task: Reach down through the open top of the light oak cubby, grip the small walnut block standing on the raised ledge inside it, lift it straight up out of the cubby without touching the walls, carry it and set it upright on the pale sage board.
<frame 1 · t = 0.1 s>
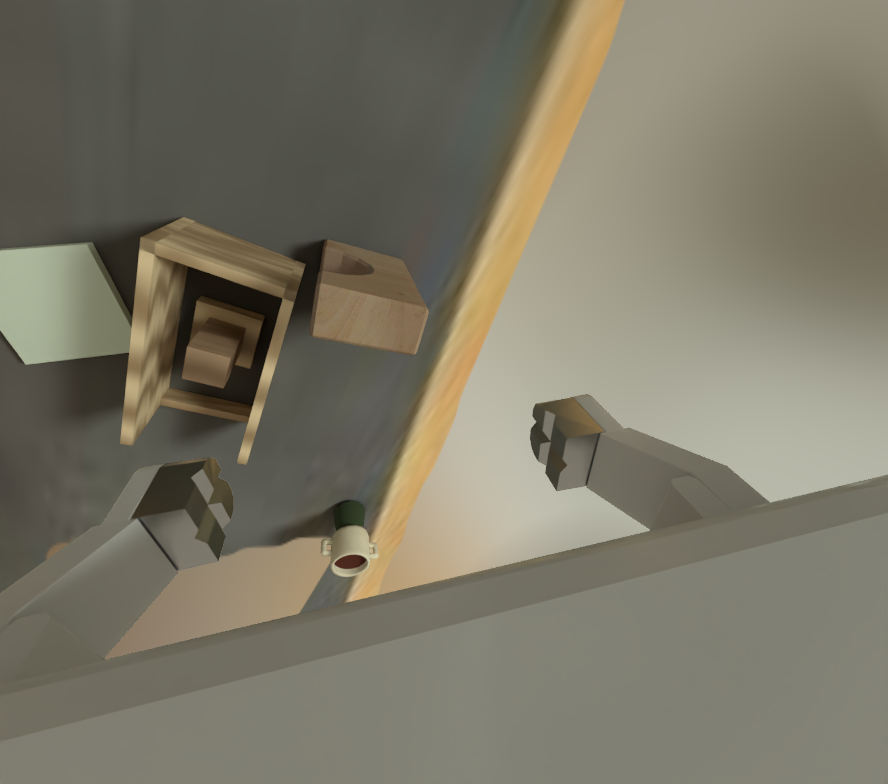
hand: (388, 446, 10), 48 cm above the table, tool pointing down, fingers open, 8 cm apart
walnut block: (225, 336, 52), point 2 cm above the table, touching oak cubby
decorative block: (362, 268, 54), on the table
sage board: (60, 304, 48), on the table
character mug: (349, 508, 79), on the table
oak cubby: (228, 330, 54), on the table
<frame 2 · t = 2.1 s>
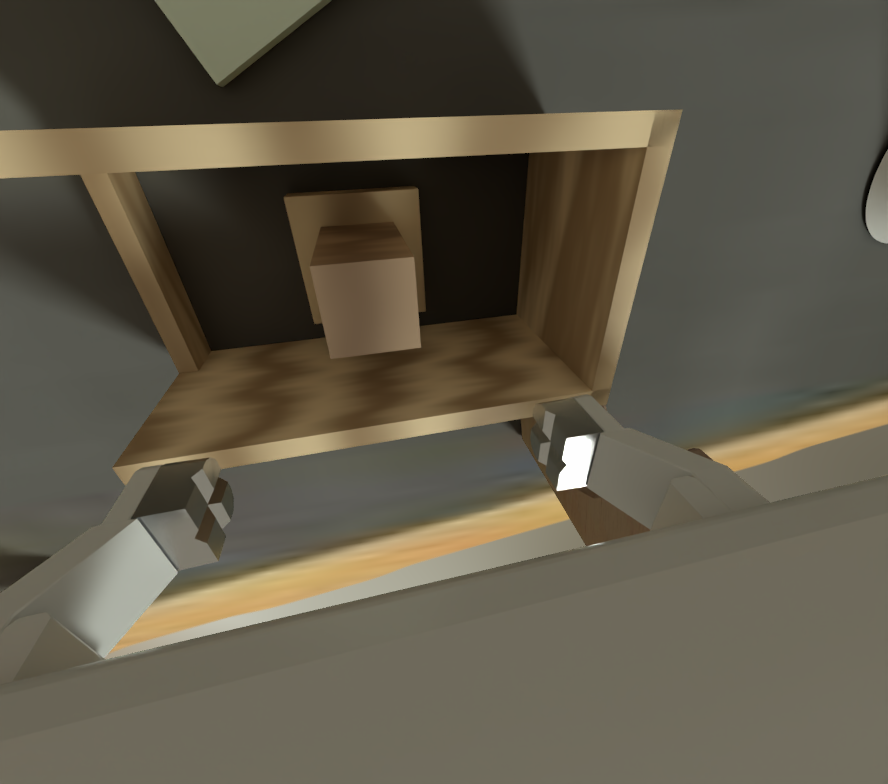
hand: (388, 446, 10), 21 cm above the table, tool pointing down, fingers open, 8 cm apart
walnut block: (362, 260, 25), point 2 cm above the table, touching oak cubby
decorative block: (543, 389, 37), on the table
oak cubby: (361, 253, 27), on the table
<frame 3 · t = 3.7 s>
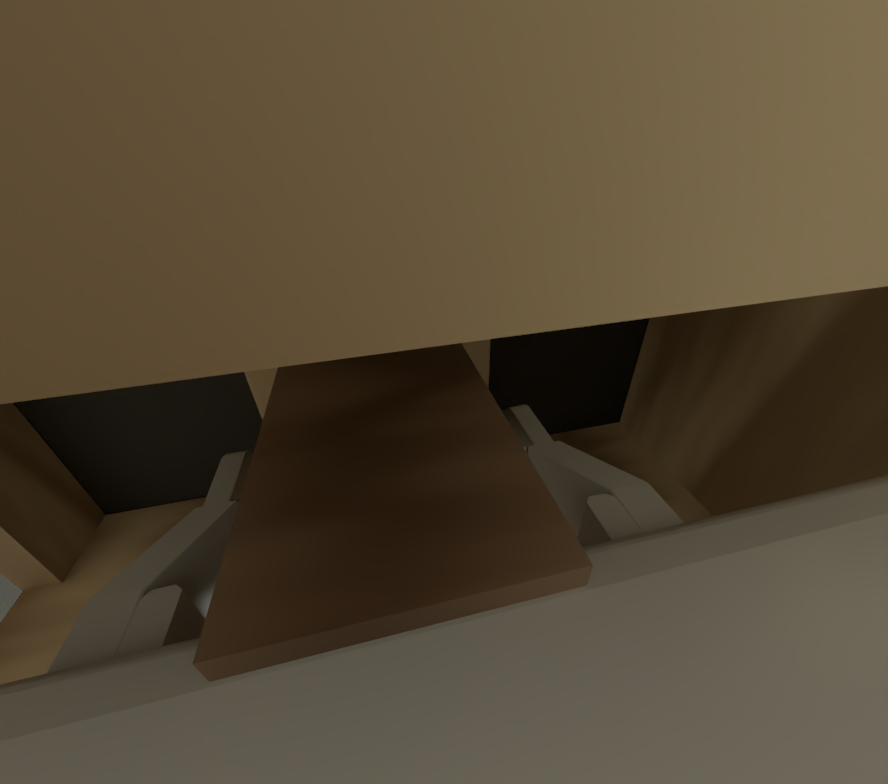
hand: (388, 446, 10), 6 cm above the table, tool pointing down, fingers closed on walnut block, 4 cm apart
walnut block: (377, 376, 13), point 2 cm above the table, touching gripper, oak cubby
oak cubby: (373, 350, 14), on the table
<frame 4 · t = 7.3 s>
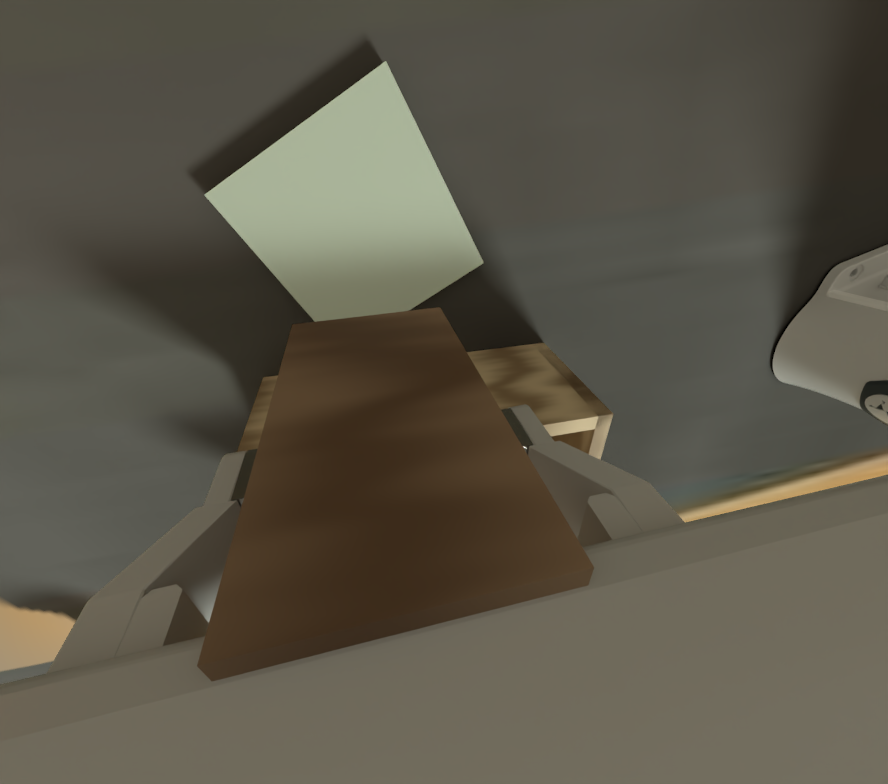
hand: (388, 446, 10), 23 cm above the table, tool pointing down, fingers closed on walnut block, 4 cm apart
walnut block: (378, 377, 13), point 20 cm above the table, touching gripper
sage board: (359, 229, 28), on the table
oak cubby: (416, 419, 39), on the table
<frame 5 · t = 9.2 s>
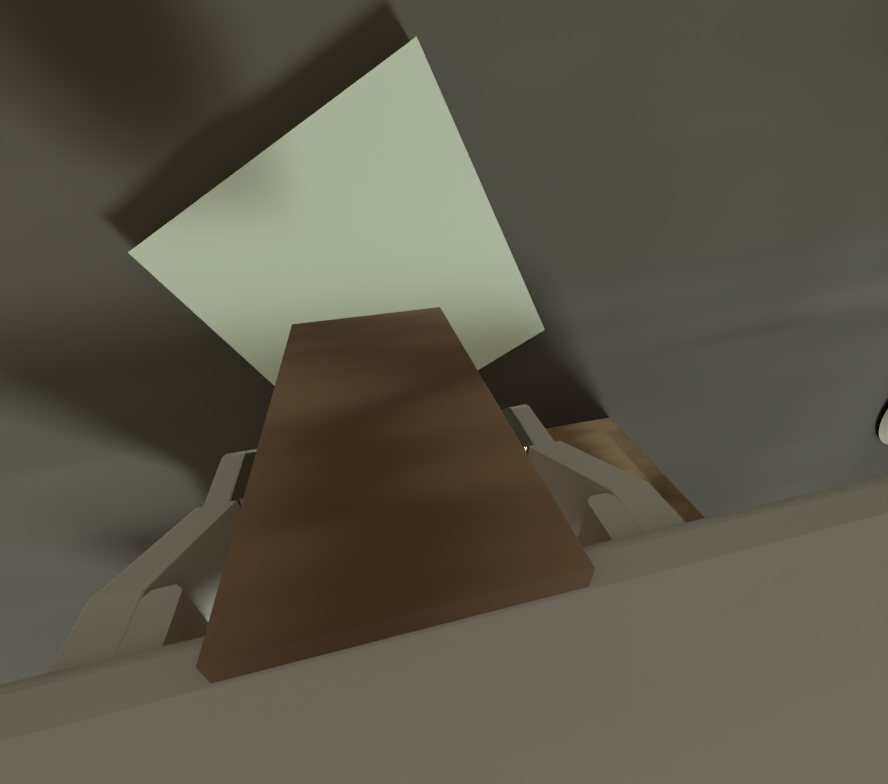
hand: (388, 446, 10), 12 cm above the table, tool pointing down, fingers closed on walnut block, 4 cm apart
walnut block: (378, 377, 13), point 8 cm above the table, touching gripper
sage board: (370, 289, 19), on the table
oak cubby: (441, 513, 30), on the table
when the fingers open (6 cm above the table, at t = 10.6 s): walnut block drops 1 cm, resting on sage board.
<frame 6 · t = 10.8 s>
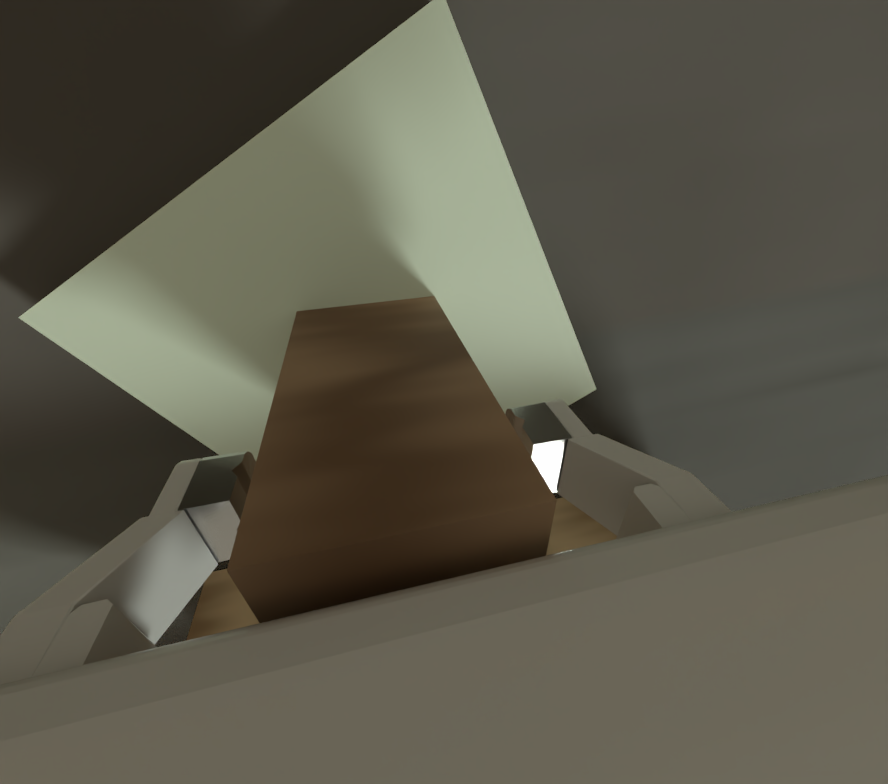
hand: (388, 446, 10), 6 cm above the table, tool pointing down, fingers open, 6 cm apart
walnut block: (376, 362, 14), point 1 cm above the table, touching sage board
sage board: (372, 347, 15), on the table
oak cubby: (457, 587, 26), on the table
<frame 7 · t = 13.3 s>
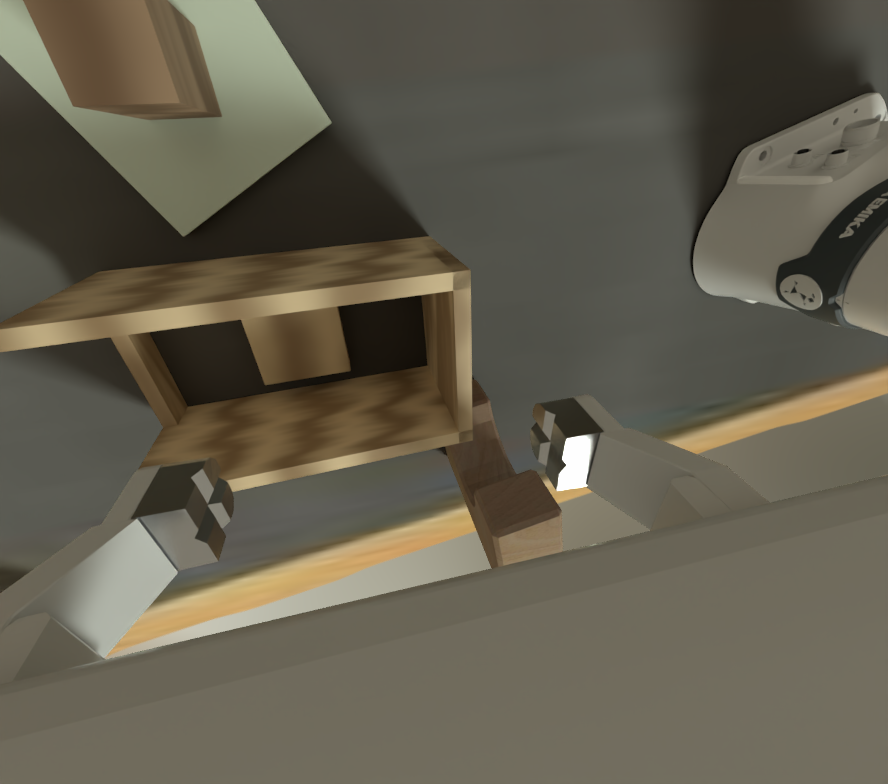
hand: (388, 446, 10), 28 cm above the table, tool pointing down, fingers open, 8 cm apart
walnut block: (171, 74, 24), point 1 cm above the table, touching sage board
decorative block: (460, 419, 47), on the table
sage board: (175, 76, 25), on the table
oak cubby: (299, 331, 36), on the table
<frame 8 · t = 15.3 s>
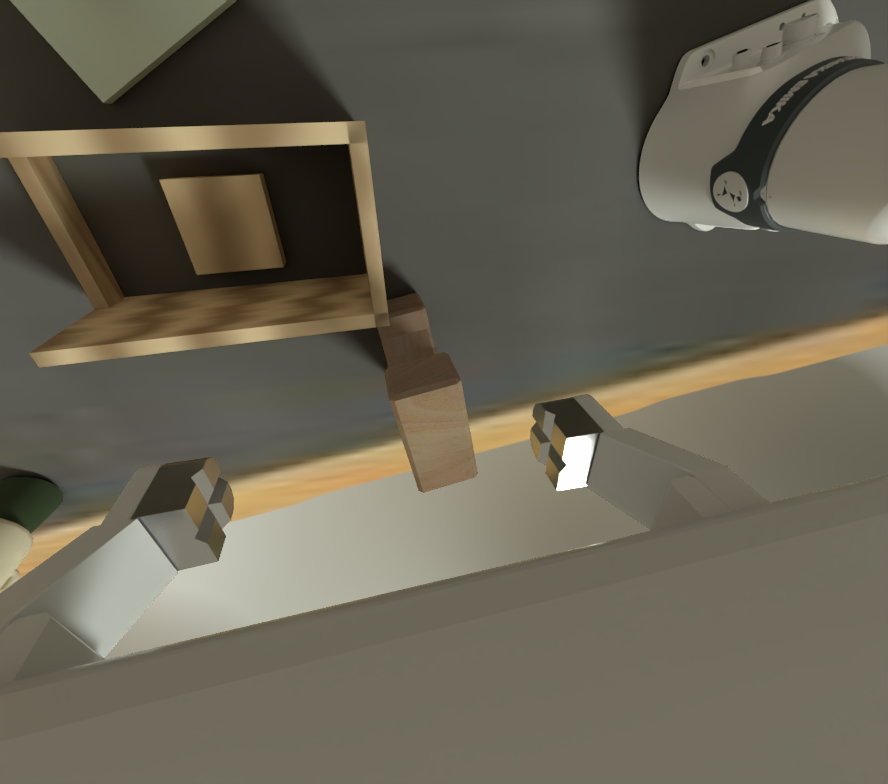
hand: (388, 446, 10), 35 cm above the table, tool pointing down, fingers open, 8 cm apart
decorative block: (405, 338, 47), on the table
character mug: (35, 489, 47), on the table
oak cubby: (231, 223, 36), on the table
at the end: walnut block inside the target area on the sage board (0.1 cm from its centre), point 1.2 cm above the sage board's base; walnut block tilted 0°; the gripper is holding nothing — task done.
